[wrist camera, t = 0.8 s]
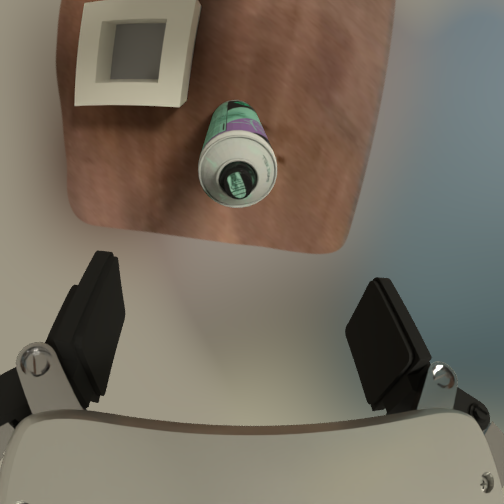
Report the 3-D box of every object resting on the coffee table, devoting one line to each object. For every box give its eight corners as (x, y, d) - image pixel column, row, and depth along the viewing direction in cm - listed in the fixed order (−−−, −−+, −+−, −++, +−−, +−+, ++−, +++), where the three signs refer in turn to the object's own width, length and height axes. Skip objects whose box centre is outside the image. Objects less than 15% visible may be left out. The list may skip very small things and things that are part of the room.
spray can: (237, 151, 37) (243, 241, 20) (202, 124, 34) (175, 194, 18) (267, 119, 34) (302, 183, 18) (232, 90, 32) (233, 125, 16)
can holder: (103, 8, 24) (84, 3, 19) (201, 6, 25) (196, -3, 21) (94, 98, 31) (74, 106, 26) (186, 100, 32) (179, 107, 28)
